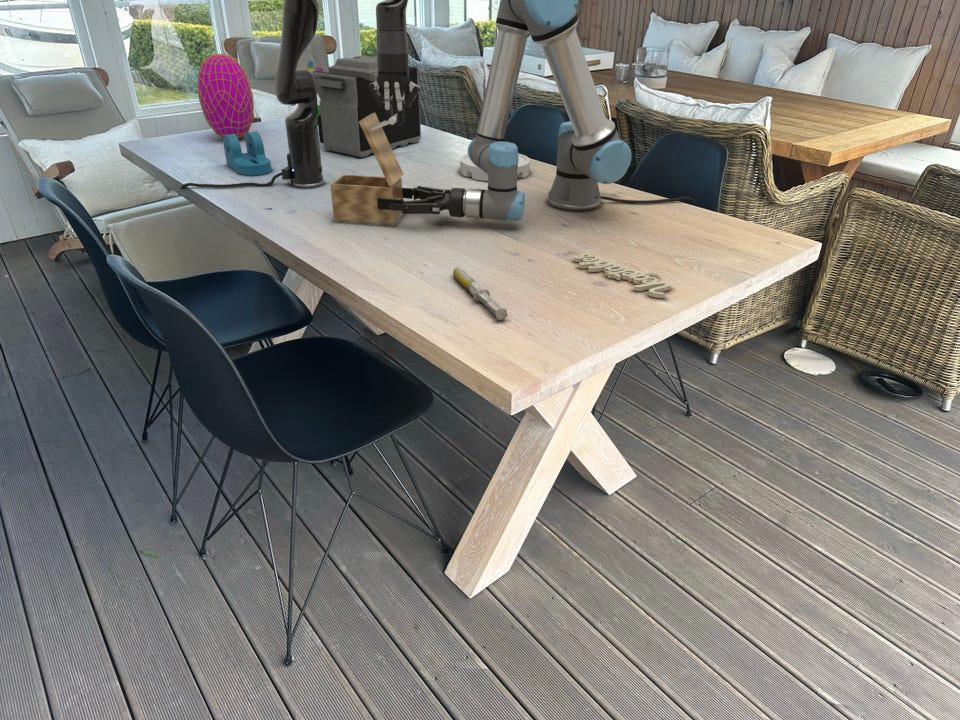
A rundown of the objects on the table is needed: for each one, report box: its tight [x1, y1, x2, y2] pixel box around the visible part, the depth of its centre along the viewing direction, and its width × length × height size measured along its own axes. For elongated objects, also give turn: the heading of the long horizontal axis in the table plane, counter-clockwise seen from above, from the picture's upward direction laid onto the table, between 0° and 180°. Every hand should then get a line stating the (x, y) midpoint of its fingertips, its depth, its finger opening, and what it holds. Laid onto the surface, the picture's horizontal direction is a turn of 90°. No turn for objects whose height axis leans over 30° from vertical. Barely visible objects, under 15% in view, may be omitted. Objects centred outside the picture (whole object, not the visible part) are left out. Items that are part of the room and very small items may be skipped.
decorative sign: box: [574, 252, 671, 299], centre depth 155 cm, size 26×1×10 cm
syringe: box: [452, 266, 509, 321], centre depth 145 cm, size 25×4×3 cm, turn 21°
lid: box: [359, 113, 404, 186], centre depth 176 cm, size 17×10×8 cm
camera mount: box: [222, 131, 272, 176], centre depth 226 cm, size 18×10×10 cm, turn 35°
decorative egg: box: [197, 53, 255, 140], centre depth 258 cm, size 19×19×30 cm
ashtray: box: [459, 153, 531, 182], centre depth 228 cm, size 23×23×4 cm
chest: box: [329, 174, 404, 228], centre depth 185 cm, size 17×10×10 cm, turn 80°
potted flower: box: [301, 59, 325, 125], centre depth 285 cm, size 9×8×25 cm
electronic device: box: [311, 55, 422, 159], centre depth 250 cm, size 37×22×30 cm, turn 144°
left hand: (395, 125), depth 173 cm, fingers closed on lid, 2 cm apart
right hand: (383, 197), depth 184 cm, fingers closed on chest, 10 cm apart
